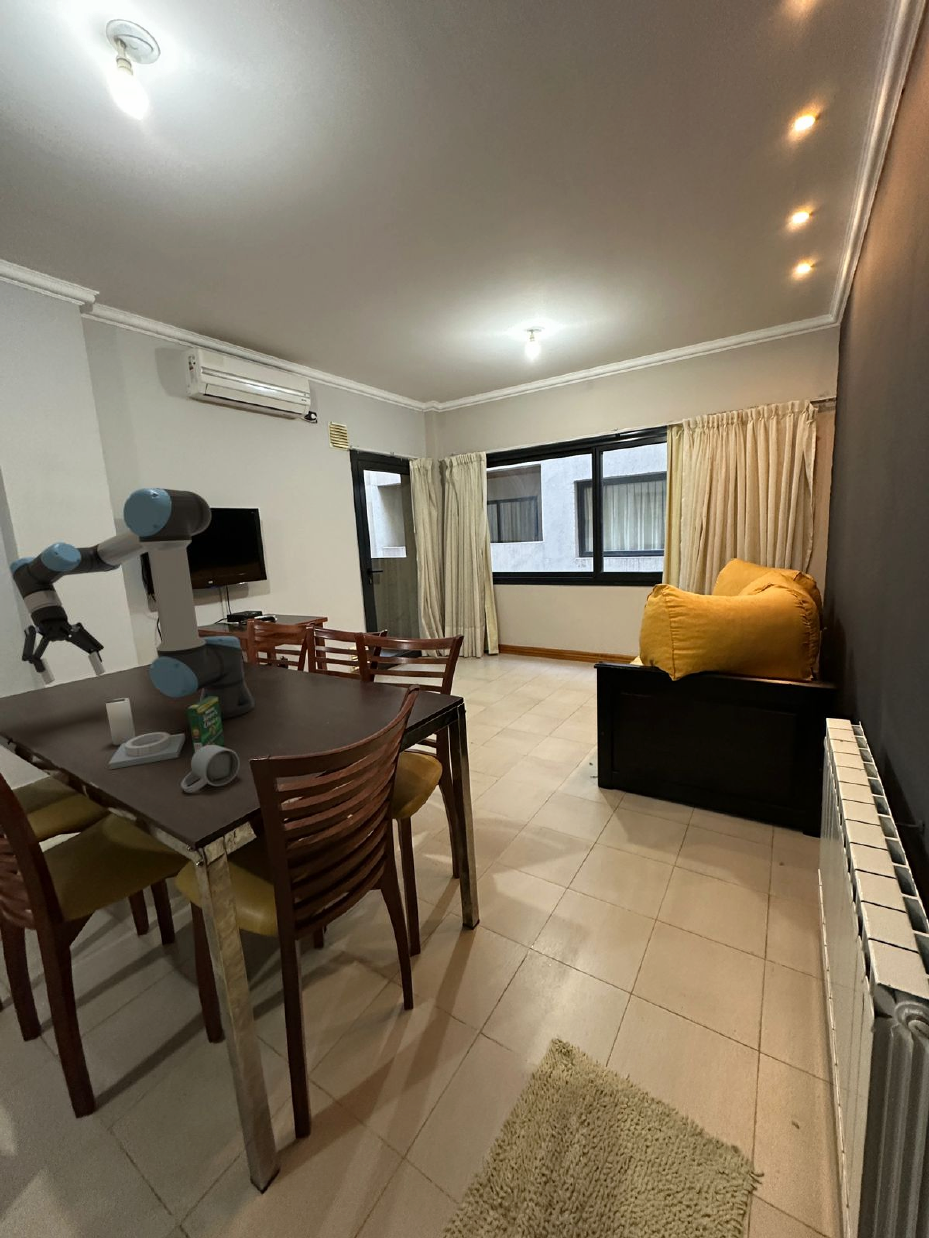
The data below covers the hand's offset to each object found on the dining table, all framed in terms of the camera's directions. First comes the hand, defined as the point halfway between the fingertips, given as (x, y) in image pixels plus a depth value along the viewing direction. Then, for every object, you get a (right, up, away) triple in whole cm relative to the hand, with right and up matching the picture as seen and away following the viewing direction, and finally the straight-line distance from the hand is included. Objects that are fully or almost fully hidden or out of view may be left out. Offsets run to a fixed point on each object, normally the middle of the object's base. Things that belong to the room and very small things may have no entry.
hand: (76, 678), depth 136 cm
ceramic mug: (+53, -19, -30) cm, 63 cm away
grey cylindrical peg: (+17, -16, -6) cm, 24 cm away
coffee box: (+45, -17, -15) cm, 50 cm away
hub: (+29, -17, -14) cm, 37 cm away
